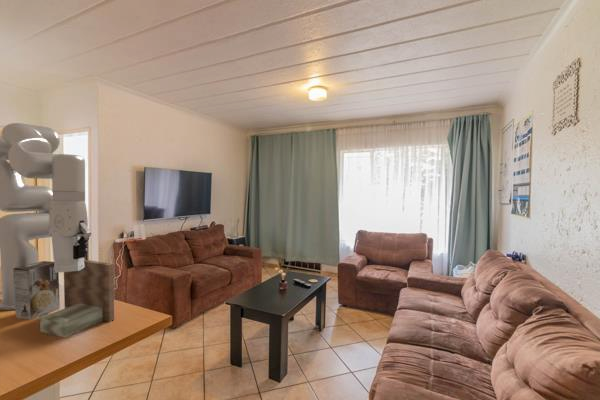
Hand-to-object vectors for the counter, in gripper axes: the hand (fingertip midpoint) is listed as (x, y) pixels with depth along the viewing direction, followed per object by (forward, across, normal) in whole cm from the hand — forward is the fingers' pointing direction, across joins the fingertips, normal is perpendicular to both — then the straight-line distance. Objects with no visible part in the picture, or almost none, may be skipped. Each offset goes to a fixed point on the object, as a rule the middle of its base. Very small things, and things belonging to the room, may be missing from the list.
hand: (69, 256), depth 85 cm
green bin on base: (+21, -2, +1) cm, 21 cm away
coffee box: (+22, -19, +2) cm, 29 cm away
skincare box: (+4, 0, 0) cm, 4 cm away
